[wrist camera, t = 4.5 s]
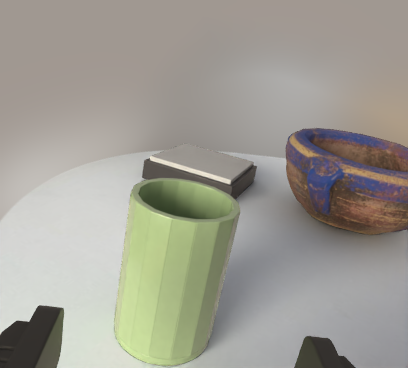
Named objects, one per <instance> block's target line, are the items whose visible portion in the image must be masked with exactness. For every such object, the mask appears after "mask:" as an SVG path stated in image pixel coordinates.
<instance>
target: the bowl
mask: <svg viewBox="0 0 408 368" xmlns="http://www.w3.org/2000/svg"><path fill="white" fill-rule="evenodd" d="M286 160H287V165H286V172H287V177H288V181H289V184H290V187H291V189H292V191H293V193H294V195H295V197H296V199H297V200H298V201H299V202H300V203H301V205H302V206H303V207H304V208H305V209H306V211H307V212H308V213H309V214H310V215H311V216H312V217H314V218H316V219H318V220H320V221H322V222H324V223H326V224H329V225H332V226H335V227H338V228H342V229H347V230H350V231H354V232H358V233H362V234H370V235H373V234H380V233H386V232H396V231H402V230H406V229H408V148H407V147H405V146H402V145H400V144H397V143H393V142H390V141H386V140H382V139H379V138H375V137H371V136H367V135H363V134H357V133H352V132H346V131H339V130H333V129H320V128H316V129H302V130H300V131H297V132H295V133H293V134H291V135H290V136H289V138H288V142H287V145H286Z"/></svg>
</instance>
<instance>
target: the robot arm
mask: <svg viewBox="0 0 408 368" xmlns="http://www.w3.org/2000/svg"><path fill="white" fill-rule="evenodd" d="M63 318H64V309H63V308H59V307H50V306H41V305H39V306H38V307H37V309H36V311H35V312H34V314H33V316H32V318H31V320H30V322H25V321H16V322H14V323H13V324H12V325H11V326H9V327H8V328H7V329H5V330H4V331H3V332H2V333H1V335H0V368H56V367H57V364H58V361H59V357H60V352H61V344H62V331H63ZM294 368H355V367H354V366H353V365H352V364H351V363H350V362H349V361H348V360H347V359H346V357H345V356H339V355H338V353H337V351H336V349H335V347H334V345H333V343H332V341H331V340H330V339H328V338H320V337H311V336H307V337H305V339H304V341H303V344H302V347H301V349H300V352H299V355H298V358H297V361H296V364H295V367H294Z"/></svg>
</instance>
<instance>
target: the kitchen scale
mask: <svg viewBox="0 0 408 368" xmlns="http://www.w3.org/2000/svg"><path fill="white" fill-rule="evenodd" d="M253 164H254V162H251V161H248V160H244V159H241V158H237V157H233V156H230V155H226V154H223V153H219V152H216V151H212V150H208V149H205V148H201V147H197V146H194V145H191V144H187V143H185V144H182V145H179V146H176V147H174V148H171V149H168V150H166V151H163V152H160V153H157V154H155V155H152V156H150V158H149V159H147V160H145V161H144V168H143V175H142V178H145V179H148V180H150V179H157V178H176V179H184V180H190V181H196V182H200V183H203V184H206V185H209V186H213V187H215V188H217V189H219V190H221V191H223V192H225V193H227V194H229V195H230V196H231V197H233V198H234V199H236V198H237V197H238V196H239V195H240V194H241V193H242V192H243V191H244V190H245V189H246V188H247V187H248V186H249V185H250V184H251V183H252V182H253V181H254V177H255V173H256V169H257V166H254V165H253Z"/></svg>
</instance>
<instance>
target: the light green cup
mask: <svg viewBox="0 0 408 368" xmlns="http://www.w3.org/2000/svg"><path fill="white" fill-rule="evenodd" d="M239 215H240V207H239V204H238V202H237V201H236V200H235V199H234V198H233V197H231V196H230V195H229V194H227V193H225V192H223V191H221V190H219V189H217V188H215V187H213V186H209V185H206V184H203V183H200V182H196V181H190V180H184V179H176V178H157V179H150V180H144V181H142V182H140V183H138V184H136V185H134V187H133V189H132V191H131V195H130V203H129V210H128V218H127V226H126V233H125V241H124V249H123V256H122V264H121V272H120V279H119V287H118V295H117V302H116V310H115V318H114V331H115V336H116V338H117V340H118V342H119V344H120V345H121V346H122V348H123V349H124V350H125V351H126V352H128V353H129V354H130V355H132V356H133V357H135V358H137V359H139V360H141V361H144V362H147V363H150V364H155V365H163V366H171V365H179V364H183V363H186V362H189V361H191V360H193V359H195V358H196V357H198V356H199V355H200V354H201V353H202V352H203V351H204V350H205V348H206V347H207V345H208V342H209V338H210V336H211V333H212V329H213V325H214V321H215V316H216V312H217V308H218V304H219V300H220V295H221V291H222V287H223V283H224V278H225V274H226V270H227V266H228V261H229V257H230V253H231V249H232V245H233V240H234V236H235V232H236V228H237V223H238V219H239Z"/></svg>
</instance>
